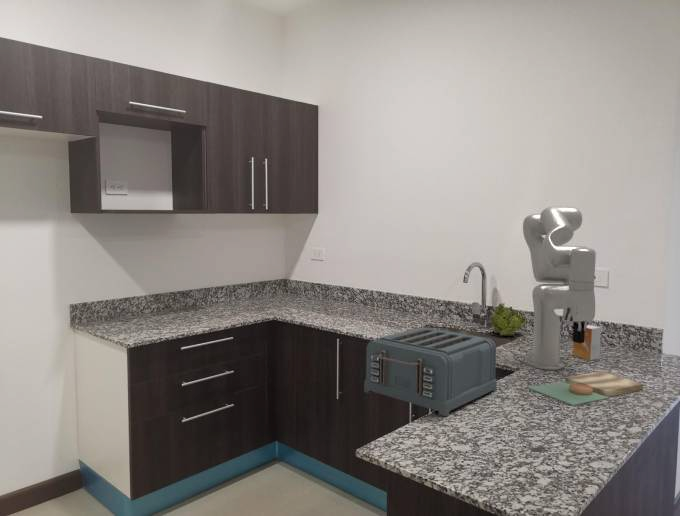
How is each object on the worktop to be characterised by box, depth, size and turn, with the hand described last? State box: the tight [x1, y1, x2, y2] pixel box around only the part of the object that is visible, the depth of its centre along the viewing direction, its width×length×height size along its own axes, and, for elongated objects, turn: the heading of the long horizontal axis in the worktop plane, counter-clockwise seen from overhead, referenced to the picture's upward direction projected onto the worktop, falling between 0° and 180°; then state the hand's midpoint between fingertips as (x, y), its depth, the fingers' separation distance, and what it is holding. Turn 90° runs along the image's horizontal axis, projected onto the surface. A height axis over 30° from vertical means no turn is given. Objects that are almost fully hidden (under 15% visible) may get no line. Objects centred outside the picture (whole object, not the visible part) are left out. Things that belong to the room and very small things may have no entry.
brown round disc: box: [569, 384, 593, 395], centre depth 177 cm, size 7×7×2 cm
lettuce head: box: [490, 302, 527, 337], centre depth 258 cm, size 18×16×16 cm
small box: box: [572, 324, 602, 361], centre depth 221 cm, size 8×6×13 cm
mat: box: [528, 381, 610, 407], centre depth 176 cm, size 18×16×1 cm
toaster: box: [363, 326, 498, 417], centre depth 175 cm, size 31×36×18 cm
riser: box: [564, 370, 644, 398], centre depth 184 cm, size 16×18×2 cm
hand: (578, 342), depth 177 cm, fingers closed
